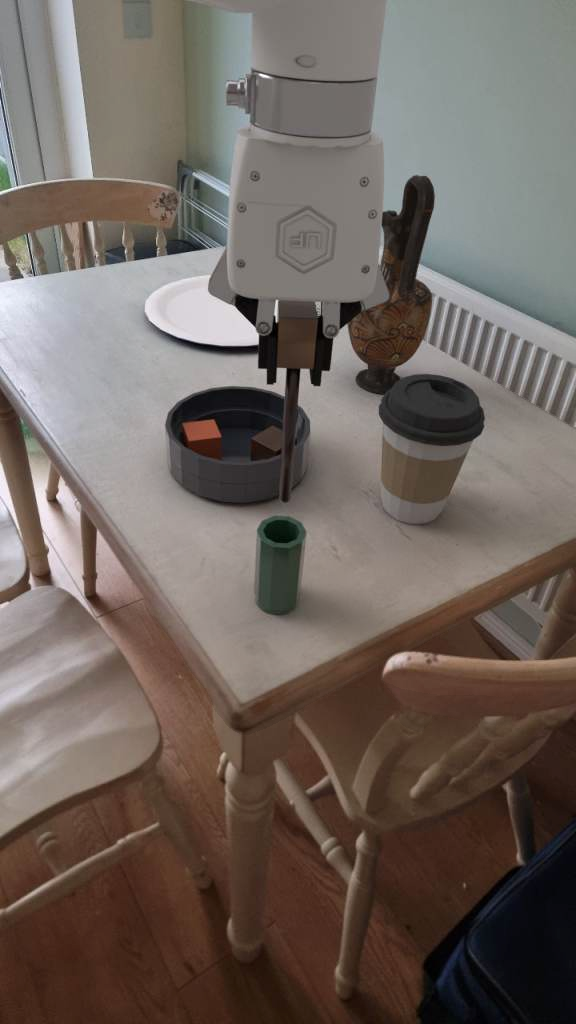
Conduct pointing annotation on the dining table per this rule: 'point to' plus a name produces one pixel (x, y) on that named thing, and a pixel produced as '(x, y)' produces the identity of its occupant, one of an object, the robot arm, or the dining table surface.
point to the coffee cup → (425, 443)
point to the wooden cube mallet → (293, 373)
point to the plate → (199, 315)
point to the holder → (279, 564)
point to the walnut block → (267, 444)
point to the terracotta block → (203, 438)
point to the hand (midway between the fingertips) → (293, 374)
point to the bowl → (233, 444)
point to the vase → (397, 293)
